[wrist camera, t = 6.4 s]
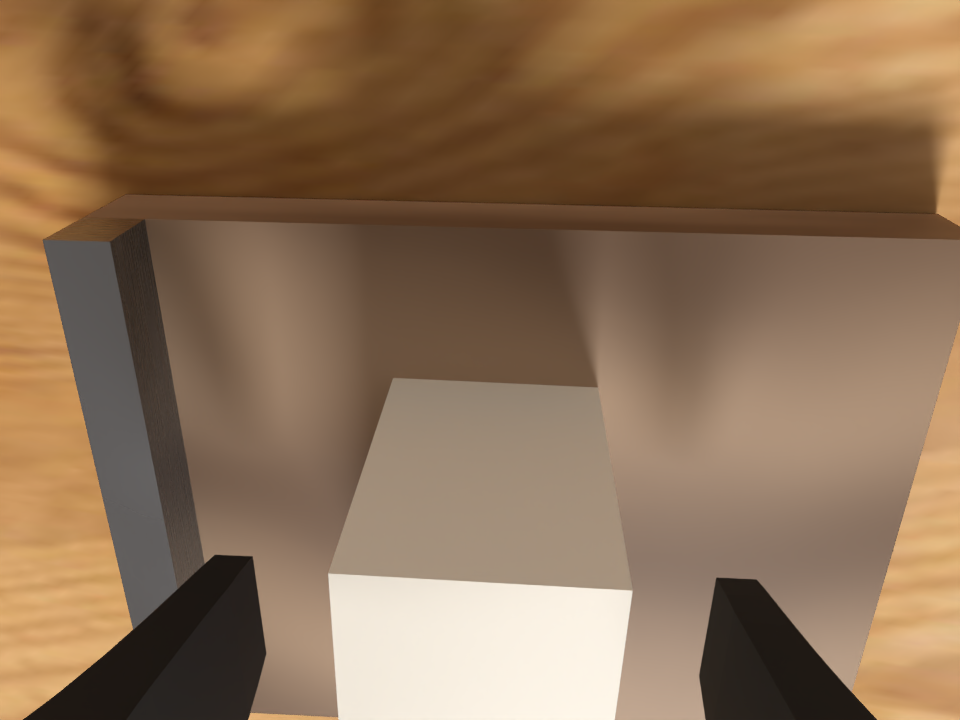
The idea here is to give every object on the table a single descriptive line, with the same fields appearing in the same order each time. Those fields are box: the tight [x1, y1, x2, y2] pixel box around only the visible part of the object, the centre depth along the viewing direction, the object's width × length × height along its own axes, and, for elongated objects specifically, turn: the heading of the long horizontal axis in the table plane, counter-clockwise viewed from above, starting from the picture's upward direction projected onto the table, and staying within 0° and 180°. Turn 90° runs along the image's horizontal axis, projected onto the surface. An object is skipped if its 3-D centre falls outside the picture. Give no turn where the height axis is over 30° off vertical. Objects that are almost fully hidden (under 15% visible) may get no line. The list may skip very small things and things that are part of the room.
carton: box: [328, 378, 633, 720], centre depth 13 cm, size 6×4×5 cm, turn 179°
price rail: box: [43, 218, 205, 629], centre depth 15 cm, size 11×1×1 cm, turn 179°
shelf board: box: [84, 194, 960, 720], centre depth 16 cm, size 11×14×2 cm
